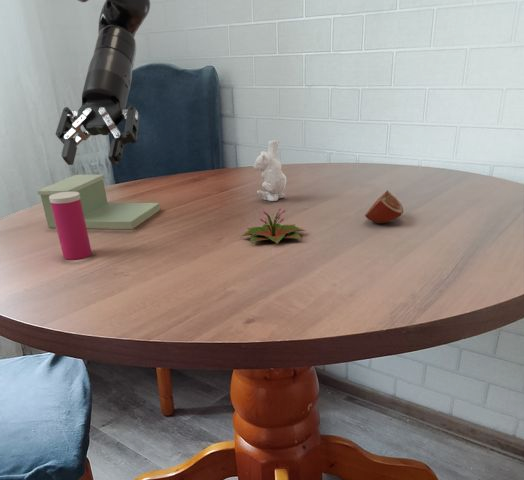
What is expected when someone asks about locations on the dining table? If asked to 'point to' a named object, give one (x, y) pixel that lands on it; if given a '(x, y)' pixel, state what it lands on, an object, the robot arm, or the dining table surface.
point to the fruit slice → (385, 209)
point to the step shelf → (97, 204)
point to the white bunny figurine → (271, 173)
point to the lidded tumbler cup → (70, 225)
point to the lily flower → (273, 230)
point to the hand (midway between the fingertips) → (90, 162)
